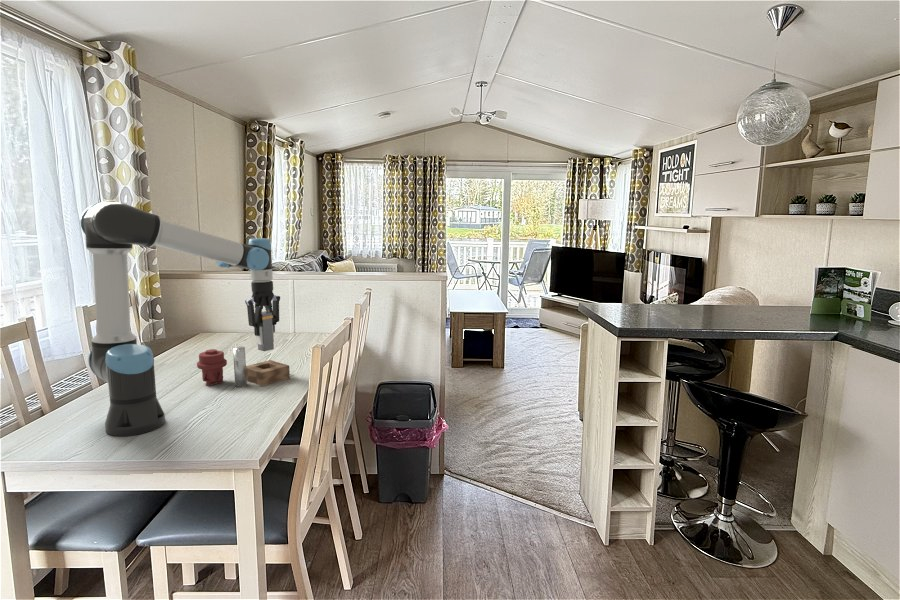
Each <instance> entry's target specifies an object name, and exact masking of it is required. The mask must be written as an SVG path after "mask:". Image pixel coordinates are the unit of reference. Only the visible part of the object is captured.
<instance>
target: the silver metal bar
mask: <svg viewBox="0 0 900 600" xmlns="http://www.w3.org/2000/svg"><path fill="white" fill-rule="evenodd" d="M232 354H233V370H234V373H233V374H234V386H235V387H238V388H242V387H246V386H248V381H247V376H246V366H247V365H246V363H247V360H246V347H245V346H241V345H240V346H239V345H238V346H234V347H232Z"/></svg>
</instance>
